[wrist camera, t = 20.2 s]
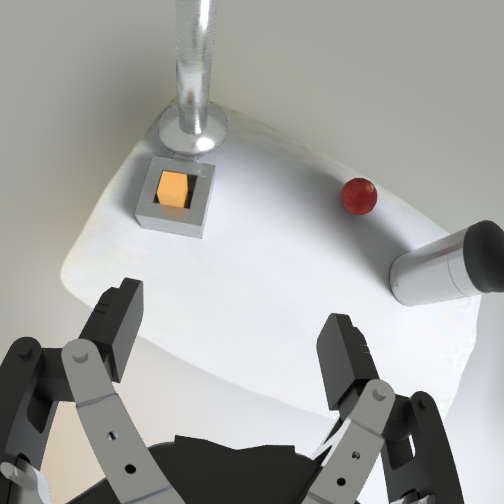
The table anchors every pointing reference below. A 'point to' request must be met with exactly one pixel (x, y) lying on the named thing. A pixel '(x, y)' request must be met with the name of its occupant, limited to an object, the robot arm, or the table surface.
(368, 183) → the pomegranate
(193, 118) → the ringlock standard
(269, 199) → the table surface
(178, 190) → the orange block
